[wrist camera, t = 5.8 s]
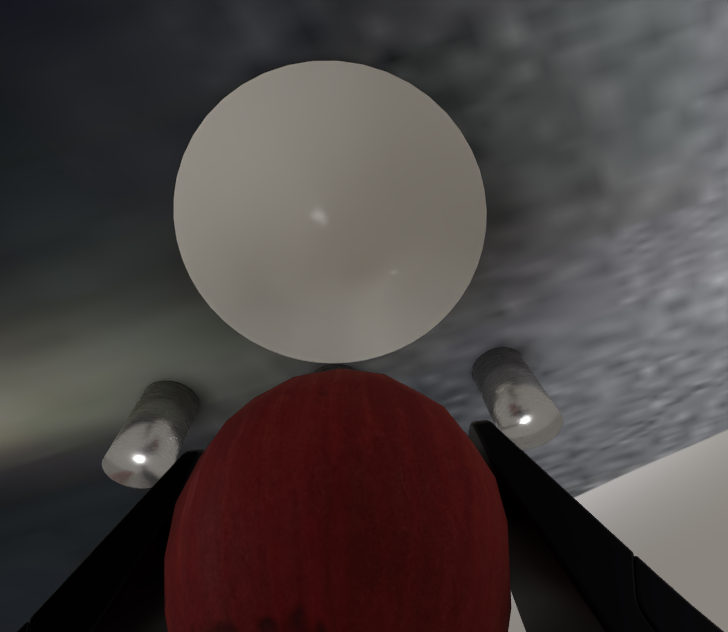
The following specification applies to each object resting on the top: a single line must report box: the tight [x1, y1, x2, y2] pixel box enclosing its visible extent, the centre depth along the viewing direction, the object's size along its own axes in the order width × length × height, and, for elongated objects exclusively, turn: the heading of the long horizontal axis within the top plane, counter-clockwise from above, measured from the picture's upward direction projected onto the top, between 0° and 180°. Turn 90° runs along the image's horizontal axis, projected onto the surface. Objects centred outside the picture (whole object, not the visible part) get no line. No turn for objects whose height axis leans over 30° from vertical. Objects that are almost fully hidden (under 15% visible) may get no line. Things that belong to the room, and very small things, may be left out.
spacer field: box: [102, 348, 563, 488], centre depth 24 cm, size 17×22×4 cm
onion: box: [164, 369, 511, 632], centre depth 7 cm, size 6×6×8 cm
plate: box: [174, 61, 487, 363], centre depth 17 cm, size 13×13×1 cm
